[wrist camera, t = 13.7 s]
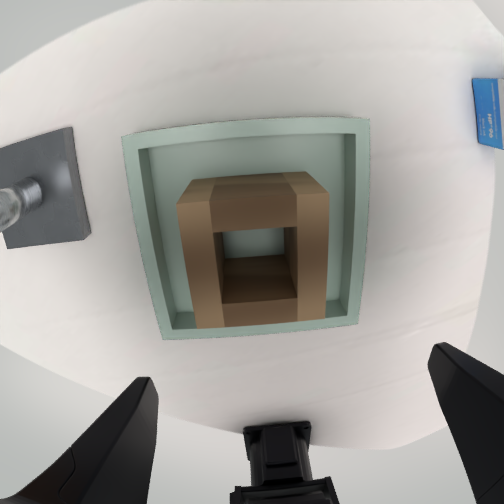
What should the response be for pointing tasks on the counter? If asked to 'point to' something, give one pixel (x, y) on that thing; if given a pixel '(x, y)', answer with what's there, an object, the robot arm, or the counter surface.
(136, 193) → the sage tray
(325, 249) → the walnut block
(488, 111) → the ink box
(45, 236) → the stand
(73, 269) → the counter surface
